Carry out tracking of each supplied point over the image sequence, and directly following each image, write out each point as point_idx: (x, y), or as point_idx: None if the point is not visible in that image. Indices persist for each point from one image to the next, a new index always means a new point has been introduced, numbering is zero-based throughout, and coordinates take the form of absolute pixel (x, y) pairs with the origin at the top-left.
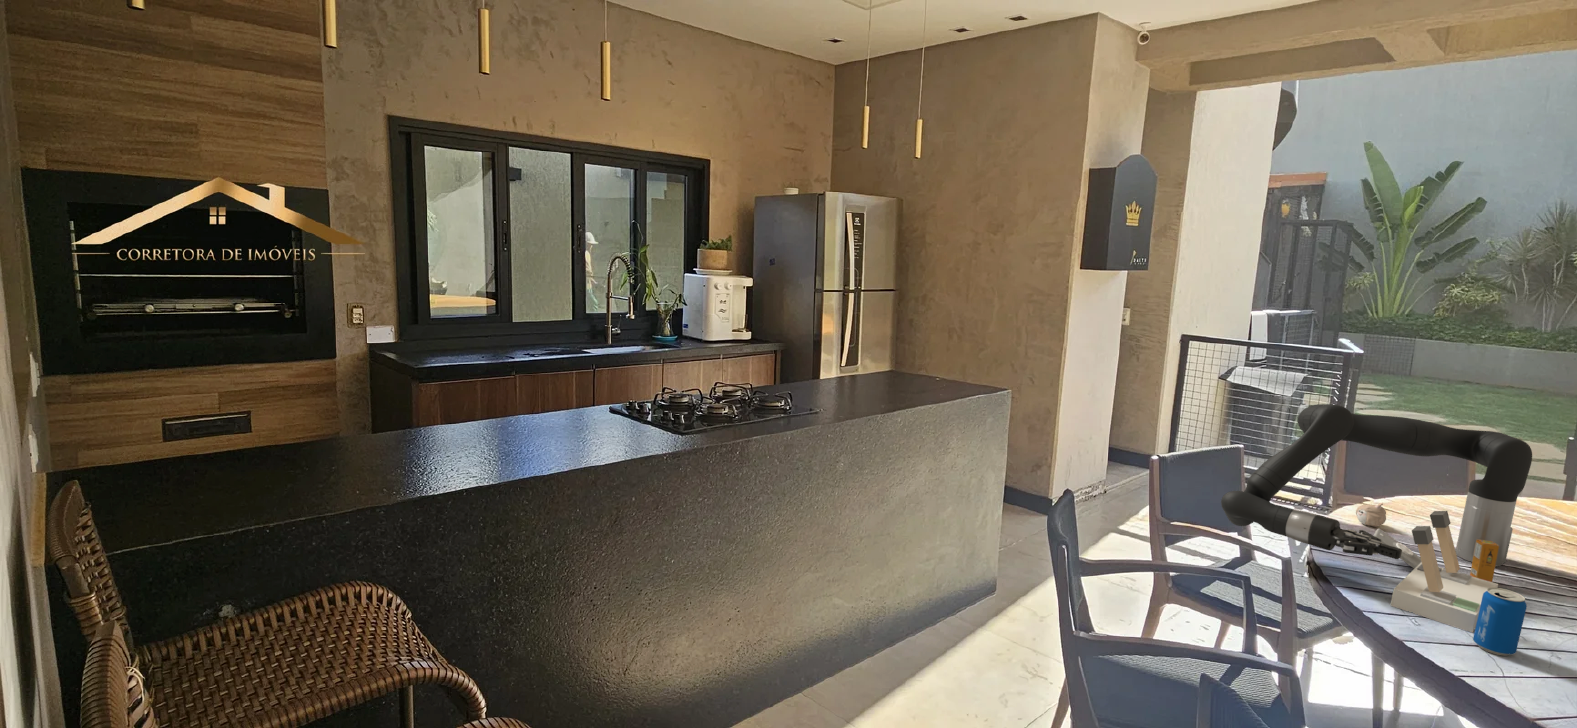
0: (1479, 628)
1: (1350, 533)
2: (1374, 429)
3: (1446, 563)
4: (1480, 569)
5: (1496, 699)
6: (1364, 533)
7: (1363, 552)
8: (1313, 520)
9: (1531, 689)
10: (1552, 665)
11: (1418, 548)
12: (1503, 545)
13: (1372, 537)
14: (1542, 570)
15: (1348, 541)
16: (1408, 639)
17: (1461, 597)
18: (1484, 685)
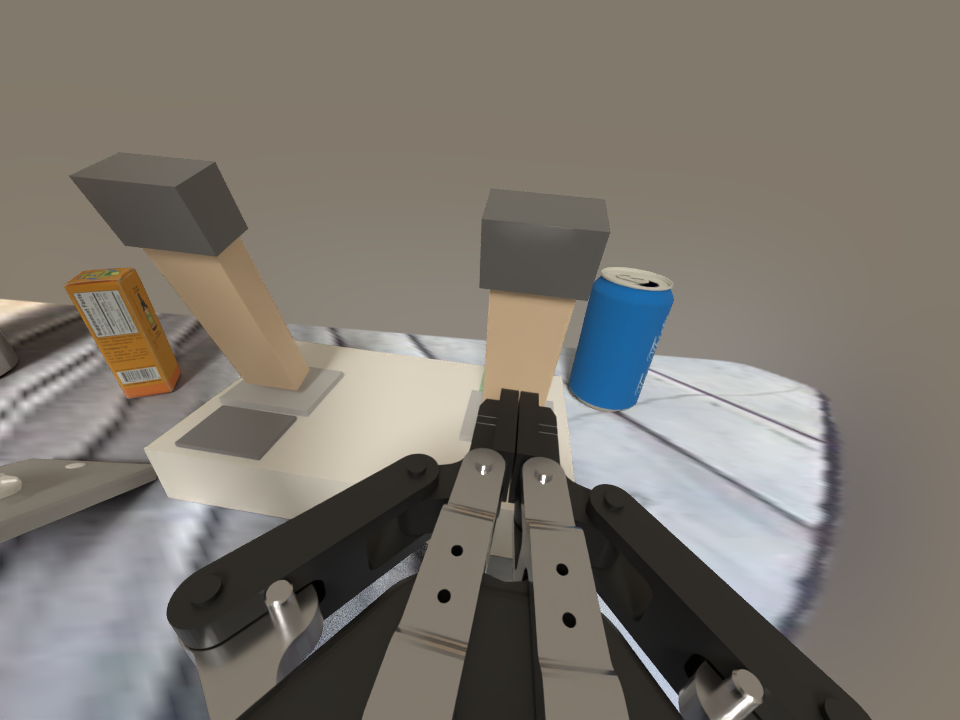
0: (641, 377)
1: (579, 703)
2: None
3: (289, 365)
4: (159, 356)
5: (819, 406)
6: (296, 569)
7: (641, 587)
8: None
9: (707, 376)
10: (575, 354)
11: (570, 314)
12: None
13: (398, 501)
14: (45, 318)
15: (828, 705)
16: (777, 514)
17: (462, 388)
18: (792, 414)
